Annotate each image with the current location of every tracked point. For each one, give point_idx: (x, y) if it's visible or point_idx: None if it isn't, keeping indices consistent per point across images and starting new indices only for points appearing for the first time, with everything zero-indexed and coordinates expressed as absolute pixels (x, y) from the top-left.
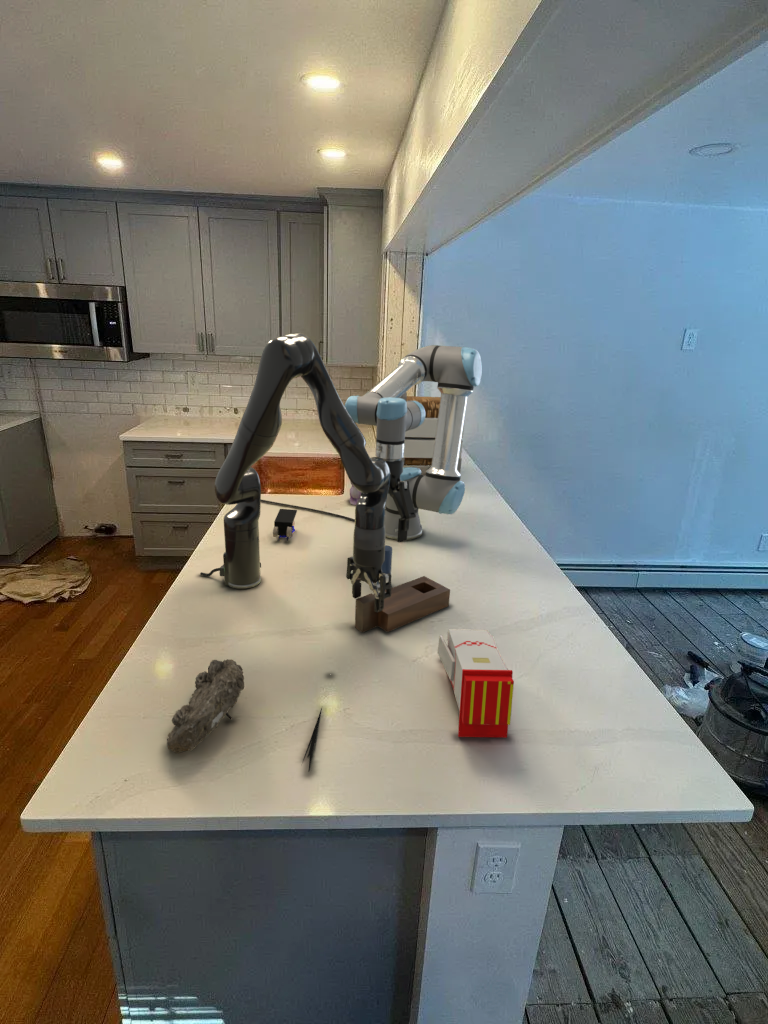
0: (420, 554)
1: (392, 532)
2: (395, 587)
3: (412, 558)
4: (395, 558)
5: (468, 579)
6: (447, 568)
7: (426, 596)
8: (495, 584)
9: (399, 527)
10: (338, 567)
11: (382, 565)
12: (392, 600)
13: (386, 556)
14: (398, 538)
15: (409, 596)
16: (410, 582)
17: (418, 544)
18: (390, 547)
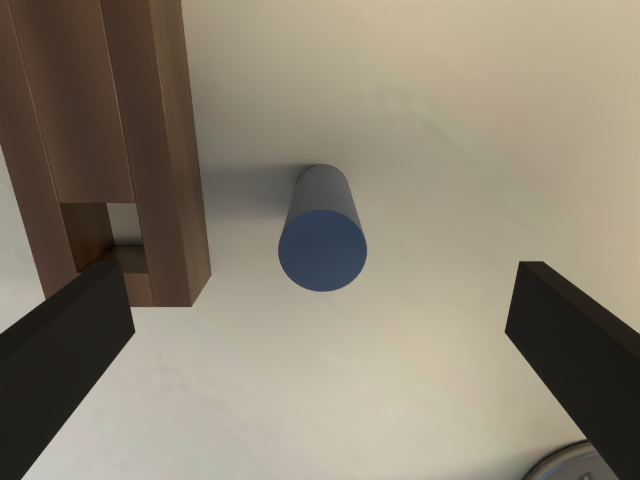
0: (424, 437)
1: (592, 468)
2: (160, 141)
3: (420, 402)
4: (460, 364)
5: (204, 429)
6: (296, 433)
7: (30, 194)
8: (140, 460)
9: (6, 340)
10: (566, 151)
11: (301, 192)
12: (54, 37)
13: (286, 221)
14: (91, 275)
15: (58, 134)
16: (168, 226)
17: (481, 476)
18: (309, 281)
